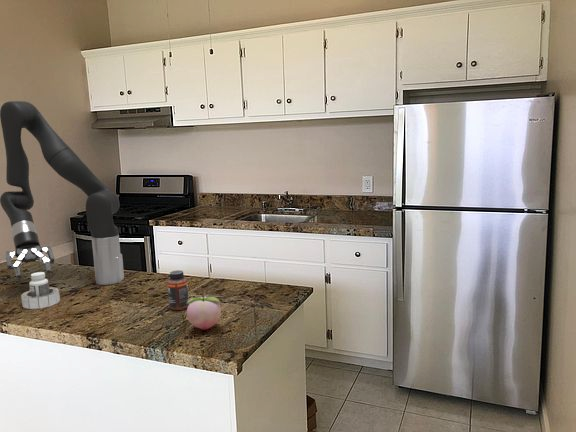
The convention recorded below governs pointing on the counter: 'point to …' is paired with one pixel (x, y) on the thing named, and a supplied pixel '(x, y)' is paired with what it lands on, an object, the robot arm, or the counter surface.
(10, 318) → the counter surface
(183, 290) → the supplement bottle
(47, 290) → the pill bottle
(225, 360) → the counter surface
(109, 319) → the counter surface
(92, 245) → the robot arm
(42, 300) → the ring collar
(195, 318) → the decorative fruit
